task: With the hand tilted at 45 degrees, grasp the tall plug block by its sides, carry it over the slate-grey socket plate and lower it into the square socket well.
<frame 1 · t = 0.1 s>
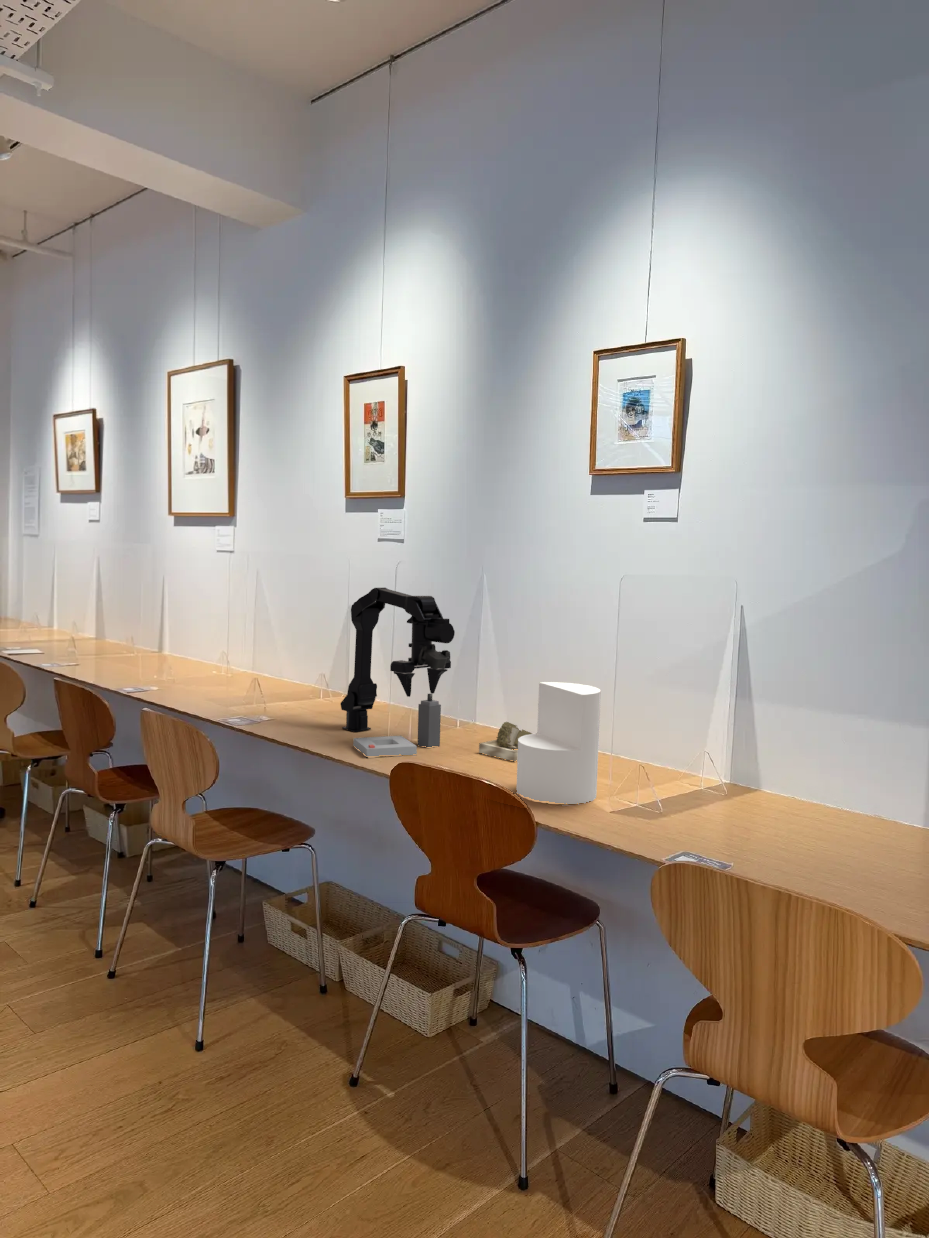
hand: (420, 694, 258), 15 cm above the table, tool pointing down, fingers open, 9 cm apart
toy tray: (521, 752, 254), on the table
toy: (521, 750, 254), resting on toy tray
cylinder: (556, 794, 213), on the table
plug: (428, 745, 259), on the table
socket: (384, 750, 251), on the table
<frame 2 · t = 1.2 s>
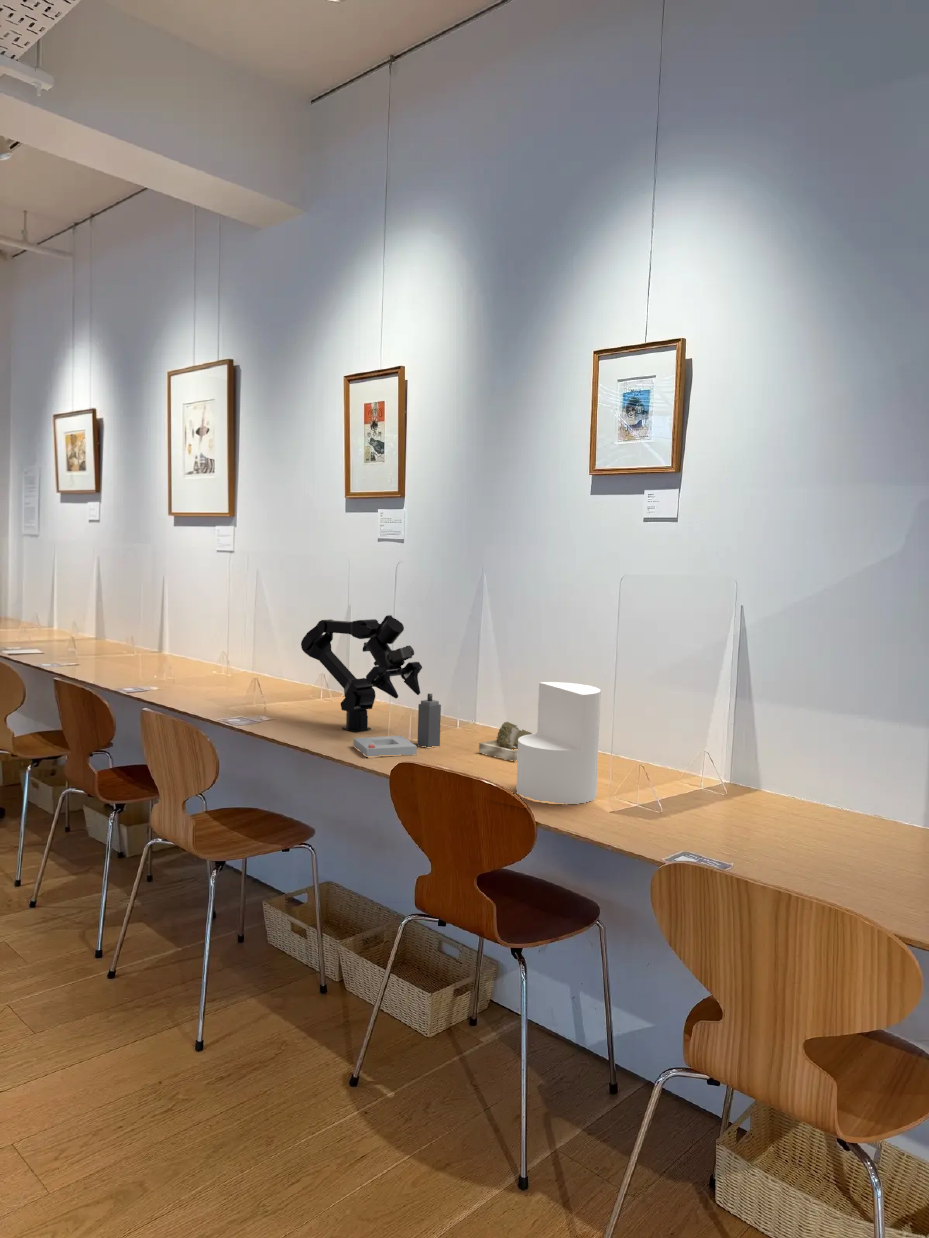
hand: (408, 695, 263), 13 cm above the table, tool tilted 45°, fingers open, 9 cm apart
nothing on the table moved.
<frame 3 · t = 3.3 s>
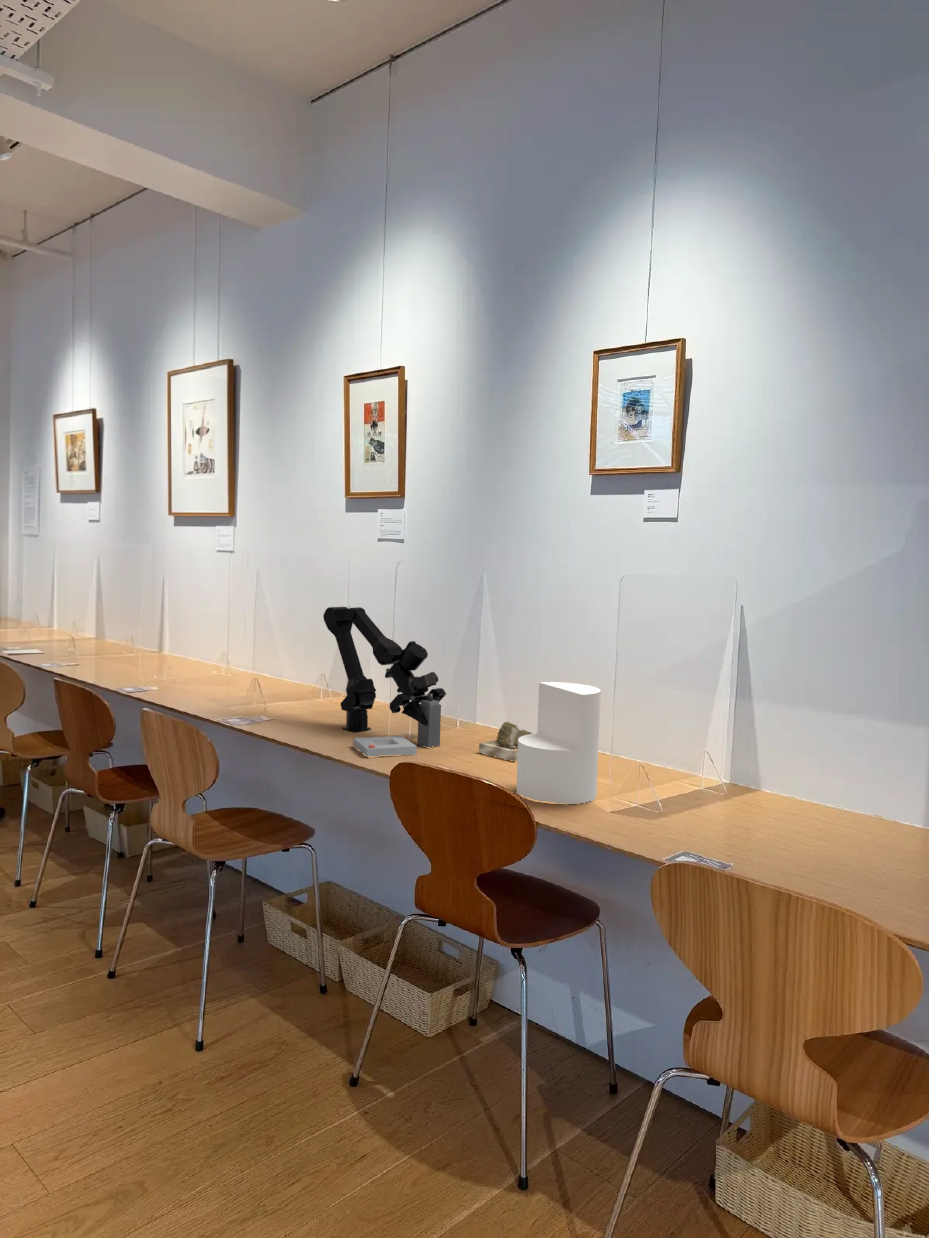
hand: (432, 723, 258), 7 cm above the table, tool tilted 45°, fingers closed on plug, 5 cm apart
plug: (428, 745, 259), on the table, touching gripper
everything else where it was.
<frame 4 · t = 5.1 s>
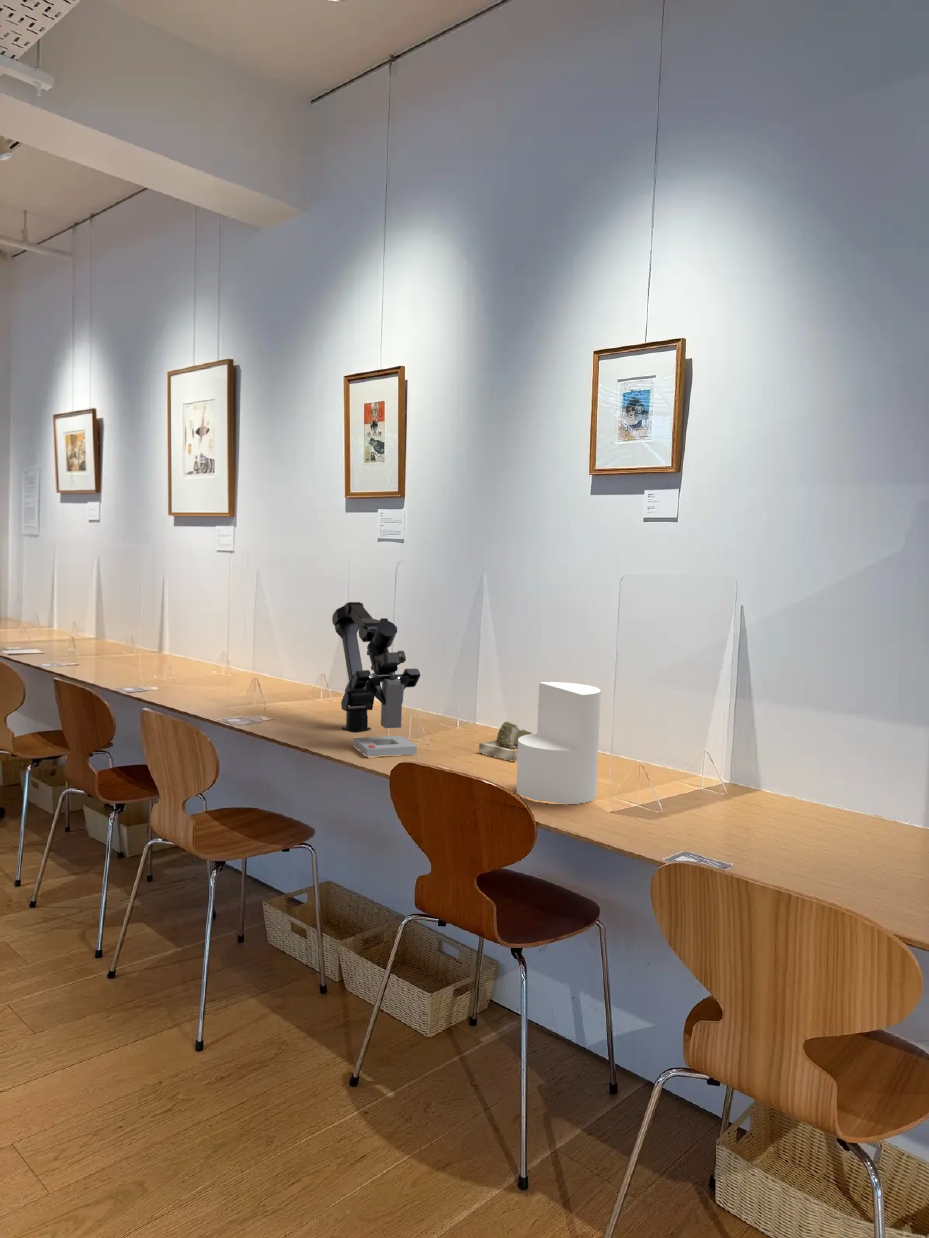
hand: (393, 703, 249), 13 cm above the table, tool tilted 45°, fingers closed on plug, 5 cm apart
plug: (390, 726, 251), point 7 cm above the table, touching gripper
everything else where it was.
when the fingers open (8 cm above the table, at t = 6.9 s): plug stays where it is, resting on socket.
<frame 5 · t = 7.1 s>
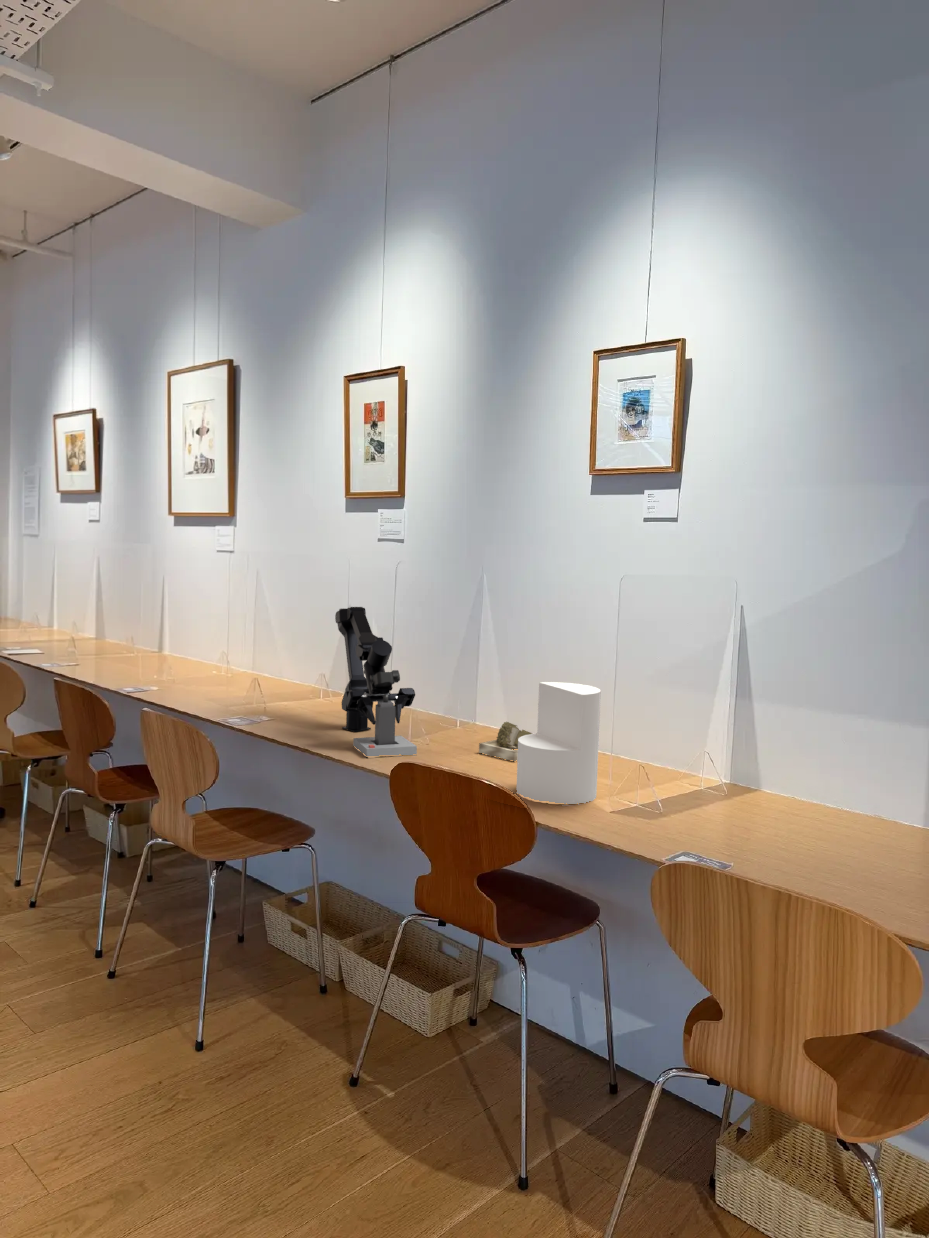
hand: (386, 723, 249), 8 cm above the table, tool tilted 45°, fingers open, 7 cm apart
plug: (384, 748, 251), point 1 cm above the table, touching socket
everything else where it was.
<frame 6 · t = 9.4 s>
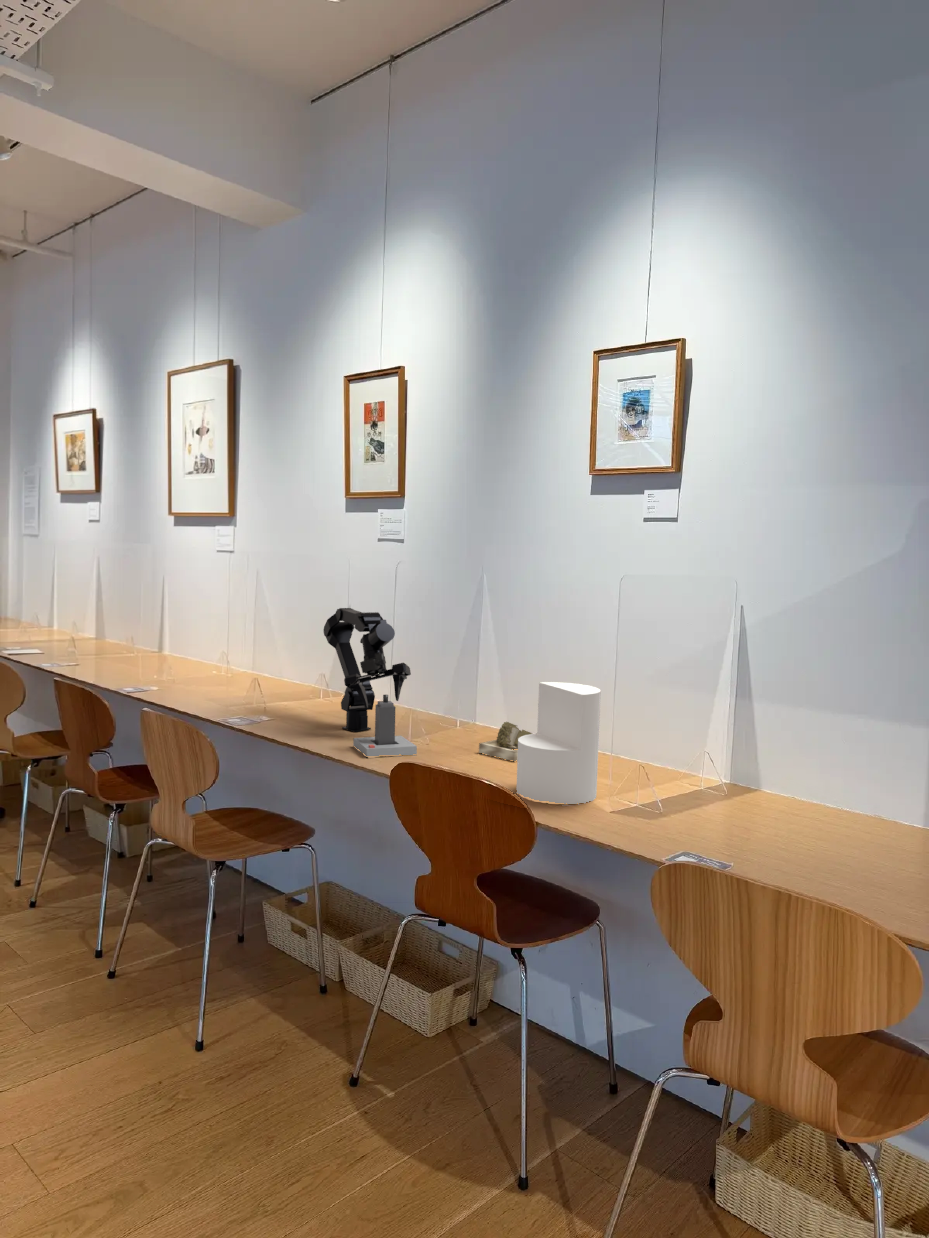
hand: (382, 704, 261), 11 cm above the table, tool tilted 25°, fingers open, 9 cm apart
nothing on the table moved.
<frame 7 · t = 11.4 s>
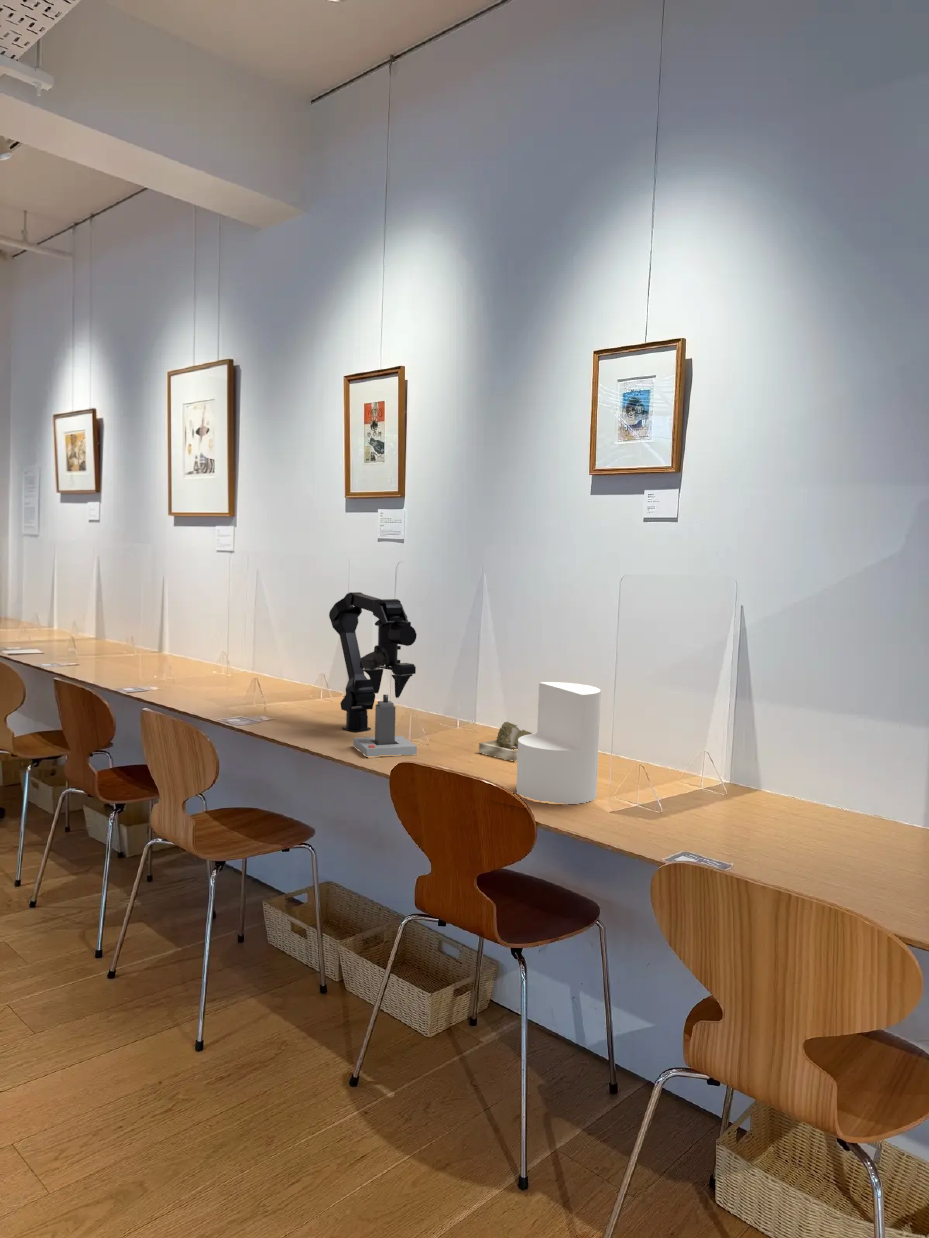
hand: (386, 695, 265), 13 cm above the table, tool pointing down, fingers open, 9 cm apart
nothing on the table moved.
at the end: plug 0.0 cm off-centre on the socket, point 0.7 cm above the socket's base; plug tilted 0°; the gripper is holding nothing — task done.
